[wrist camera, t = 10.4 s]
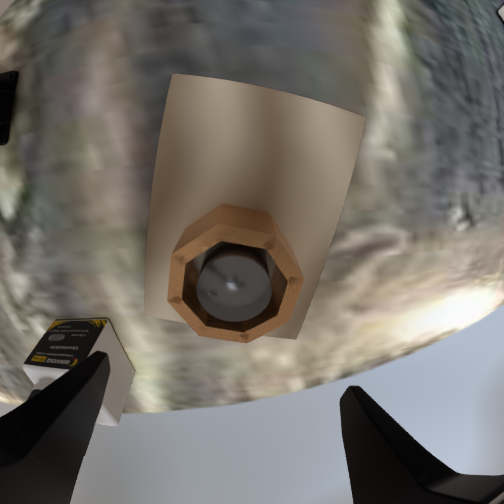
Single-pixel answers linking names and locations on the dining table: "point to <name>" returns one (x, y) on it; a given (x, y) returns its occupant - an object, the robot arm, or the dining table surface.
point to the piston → (234, 281)
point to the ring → (241, 232)
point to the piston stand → (249, 175)
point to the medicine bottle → (73, 352)
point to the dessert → (501, 12)
